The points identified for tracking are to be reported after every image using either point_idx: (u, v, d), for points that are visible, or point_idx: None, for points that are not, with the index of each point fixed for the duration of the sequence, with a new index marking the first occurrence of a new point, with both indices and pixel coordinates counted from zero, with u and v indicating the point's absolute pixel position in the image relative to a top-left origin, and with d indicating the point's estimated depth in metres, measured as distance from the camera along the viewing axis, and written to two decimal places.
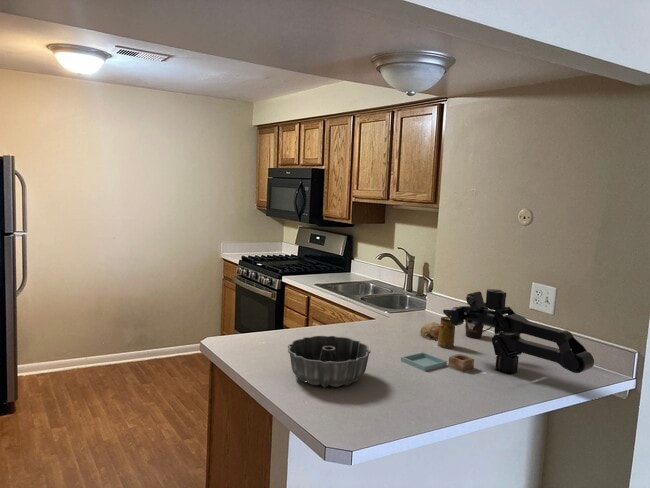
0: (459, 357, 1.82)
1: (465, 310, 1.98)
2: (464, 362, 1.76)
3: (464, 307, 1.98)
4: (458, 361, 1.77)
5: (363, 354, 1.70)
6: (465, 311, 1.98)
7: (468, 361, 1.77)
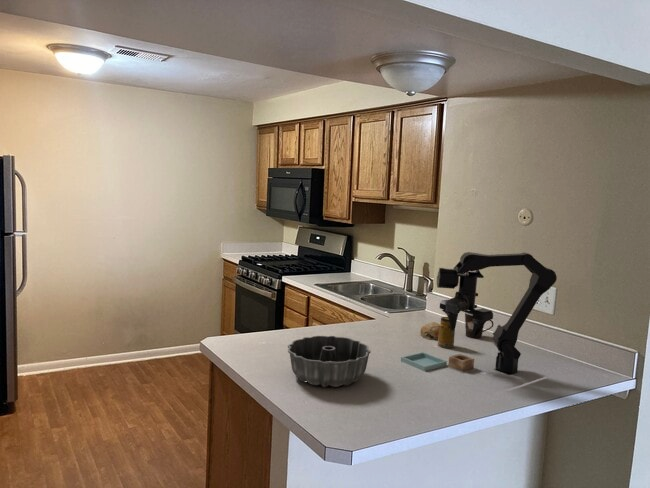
0: (459, 357, 1.82)
1: (454, 322, 1.82)
2: (464, 362, 1.76)
3: (452, 323, 1.82)
4: (458, 361, 1.77)
5: (363, 354, 1.70)
6: (455, 321, 1.83)
7: (468, 361, 1.77)
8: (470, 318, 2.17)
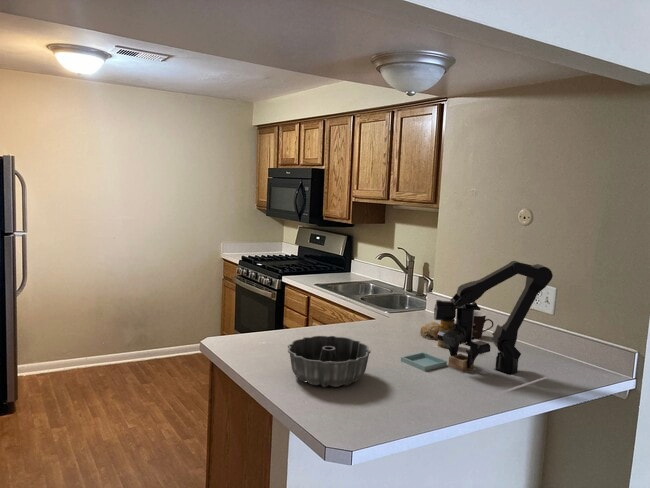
0: (459, 357, 1.82)
1: (455, 354, 1.83)
2: (464, 362, 1.76)
3: None
4: (458, 361, 1.77)
5: (363, 354, 1.70)
6: (456, 353, 1.83)
7: None
8: None
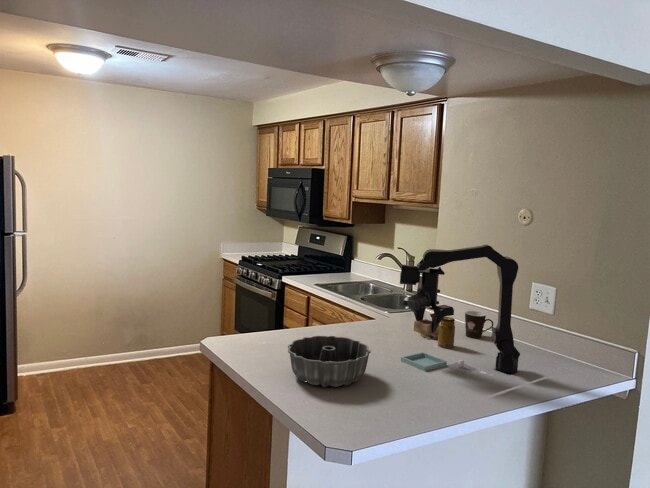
0: (424, 322, 1.83)
1: (420, 319, 1.84)
2: (428, 326, 1.77)
3: None
4: (423, 325, 1.78)
5: (363, 354, 1.70)
6: (421, 319, 1.84)
7: None
8: (470, 318, 2.17)
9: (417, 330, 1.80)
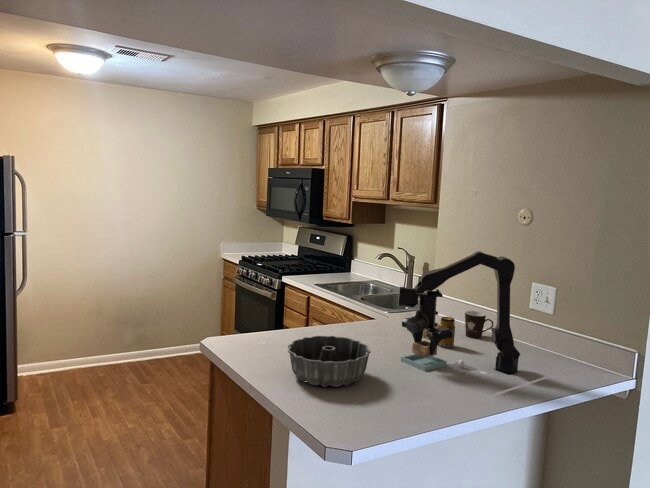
0: (423, 343, 1.84)
1: (419, 340, 1.85)
2: (427, 348, 1.78)
3: None
4: (421, 347, 1.79)
5: (363, 354, 1.70)
6: (420, 340, 1.85)
7: None
8: (470, 318, 2.17)
9: (415, 352, 1.81)
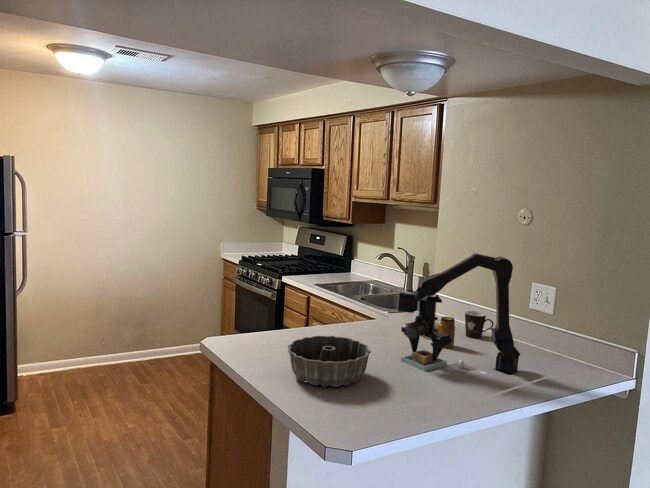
0: (422, 353, 1.84)
1: (415, 345, 1.86)
2: (426, 358, 1.79)
3: (413, 346, 1.85)
4: (420, 357, 1.80)
5: (363, 354, 1.70)
6: (416, 344, 1.86)
7: (430, 357, 1.80)
8: (470, 318, 2.17)
9: (415, 361, 1.82)
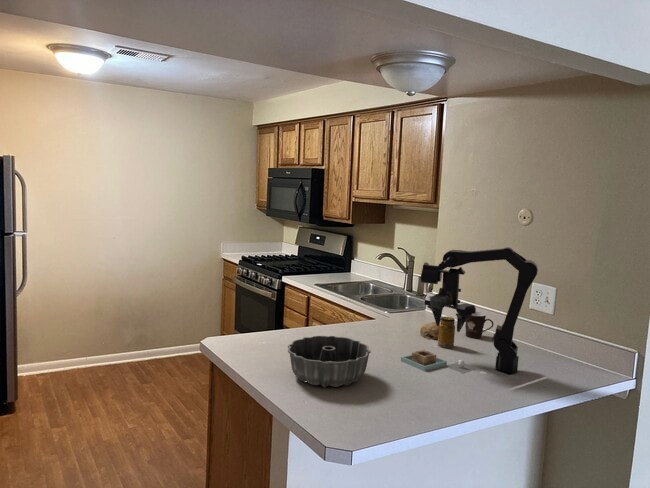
0: (422, 353, 1.84)
1: (439, 317, 1.89)
2: (426, 358, 1.79)
3: (437, 319, 1.89)
4: (420, 357, 1.80)
5: (363, 354, 1.70)
6: (439, 317, 1.90)
7: (430, 357, 1.80)
8: (470, 318, 2.17)
9: (415, 361, 1.82)
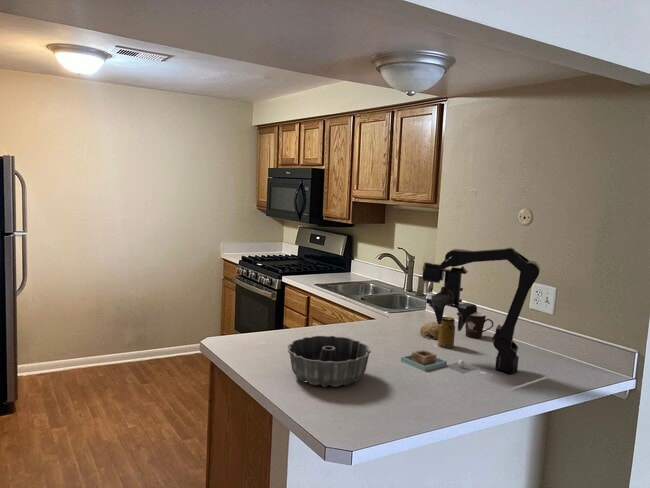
0: (422, 353, 1.84)
1: (440, 316, 1.90)
2: (426, 358, 1.79)
3: (438, 317, 1.89)
4: (420, 357, 1.80)
5: (363, 354, 1.70)
6: (441, 316, 1.90)
7: (430, 357, 1.80)
8: (470, 318, 2.17)
9: (415, 361, 1.82)
